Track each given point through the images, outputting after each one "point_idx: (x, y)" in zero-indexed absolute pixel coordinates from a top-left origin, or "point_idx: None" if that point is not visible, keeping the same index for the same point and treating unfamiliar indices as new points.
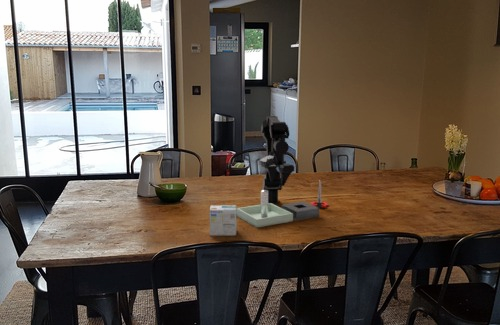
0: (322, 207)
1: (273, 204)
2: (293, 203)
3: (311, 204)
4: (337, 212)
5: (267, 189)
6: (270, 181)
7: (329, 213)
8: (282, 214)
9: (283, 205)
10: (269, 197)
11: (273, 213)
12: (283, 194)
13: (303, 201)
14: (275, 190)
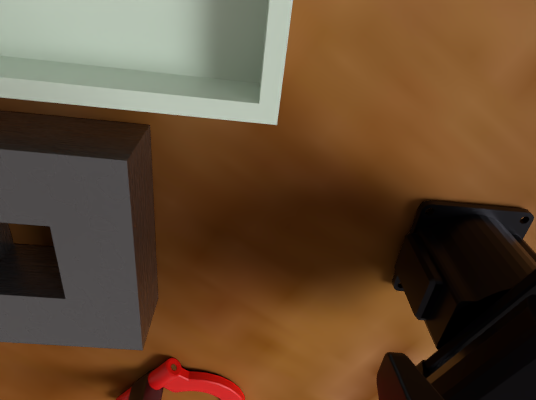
0: (129, 388)
1: (213, 115)
2: (118, 268)
3: (201, 377)
4: (23, 394)
5: (523, 289)
6: (525, 385)
7: (18, 360)
8: (16, 61)
9: (92, 160)
10: (462, 245)
11: (135, 31)
12: None
13: (137, 349)
14: (451, 333)
